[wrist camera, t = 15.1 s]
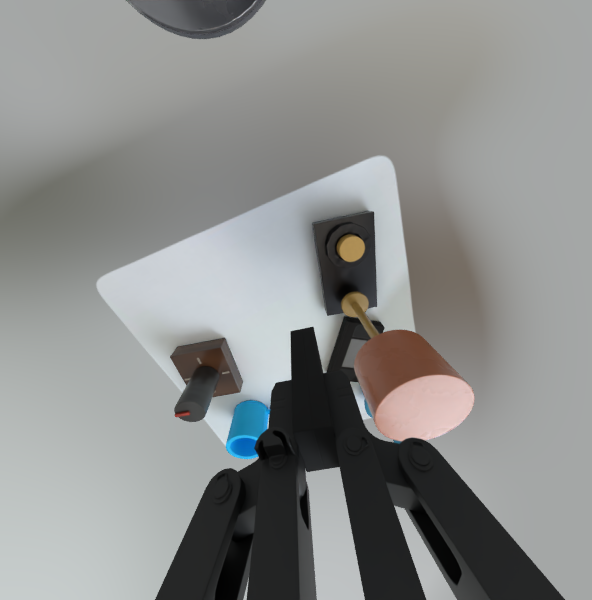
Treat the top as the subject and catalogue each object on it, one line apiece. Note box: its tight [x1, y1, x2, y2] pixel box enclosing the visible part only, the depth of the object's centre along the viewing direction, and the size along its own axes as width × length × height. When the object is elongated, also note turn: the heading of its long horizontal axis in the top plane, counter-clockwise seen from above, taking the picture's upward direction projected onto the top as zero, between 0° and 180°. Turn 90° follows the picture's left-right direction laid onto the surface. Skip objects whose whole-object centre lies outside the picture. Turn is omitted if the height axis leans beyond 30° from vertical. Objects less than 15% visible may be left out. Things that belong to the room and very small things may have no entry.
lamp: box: [341, 292, 474, 441], centre depth 26 cm, size 8×8×20 cm
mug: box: [226, 400, 270, 459], centre depth 48 cm, size 12×8×8 cm
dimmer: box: [174, 366, 220, 422], centre depth 38 cm, size 5×5×8 cm
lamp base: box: [312, 211, 377, 316], centre depth 35 cm, size 16×9×4 cm, turn 11°
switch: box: [337, 234, 365, 262], centre depth 31 cm, size 4×4×2 cm
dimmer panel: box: [170, 338, 243, 397], centre depth 43 cm, size 12×10×3 cm
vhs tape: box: [327, 317, 384, 382], centre depth 43 cm, size 8×14×2 cm, turn 170°
